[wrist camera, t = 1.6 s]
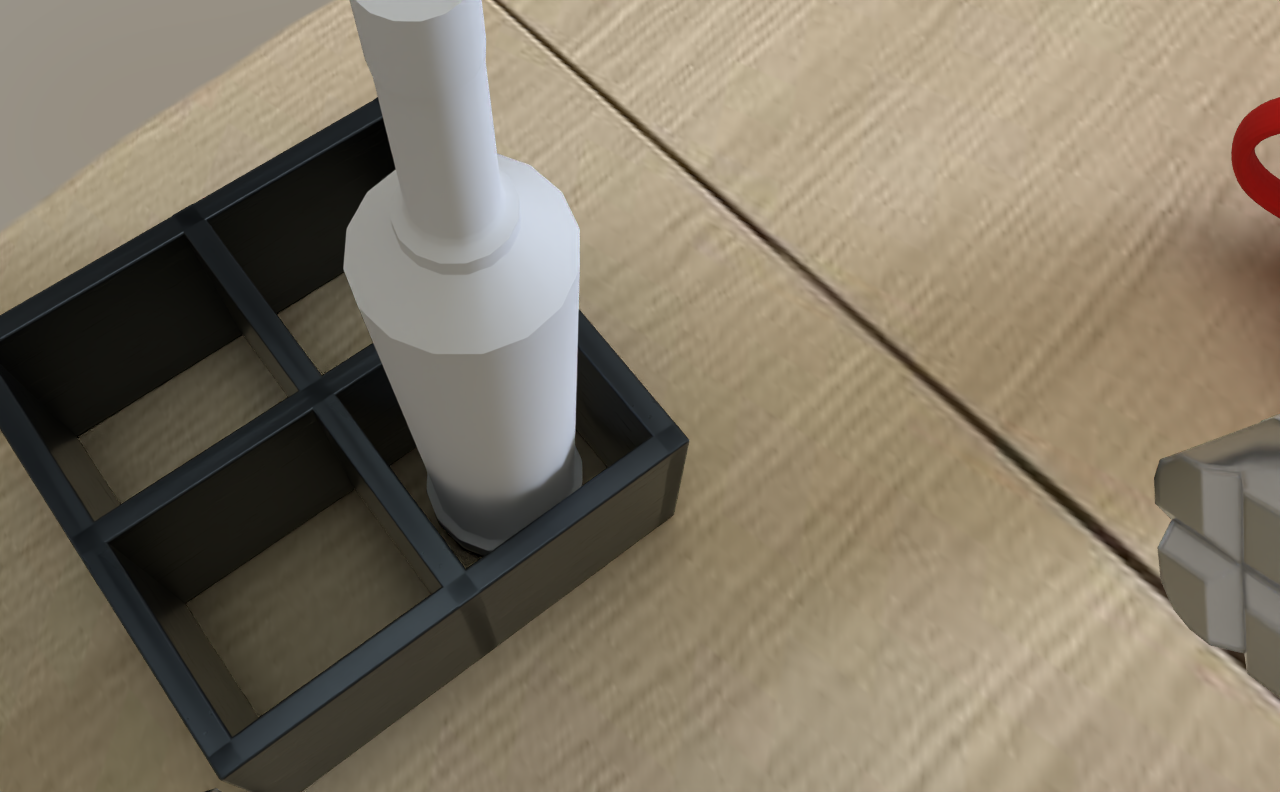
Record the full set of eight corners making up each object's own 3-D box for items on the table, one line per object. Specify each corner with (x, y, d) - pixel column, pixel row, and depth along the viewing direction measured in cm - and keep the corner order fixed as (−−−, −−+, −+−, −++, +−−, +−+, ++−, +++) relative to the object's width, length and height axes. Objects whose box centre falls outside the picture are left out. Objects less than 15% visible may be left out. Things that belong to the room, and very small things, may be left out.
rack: (283, 805, 38) (220, 781, 31) (44, 433, 42) (-54, 344, 36) (674, 514, 42) (690, 440, 35) (420, 203, 46) (392, 87, 40)
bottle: (567, 410, 43) (545, -175, 20) (598, 549, 41) (610, 78, 18) (421, 437, 42) (225, -133, 20) (444, 580, 41) (257, 133, 18)
